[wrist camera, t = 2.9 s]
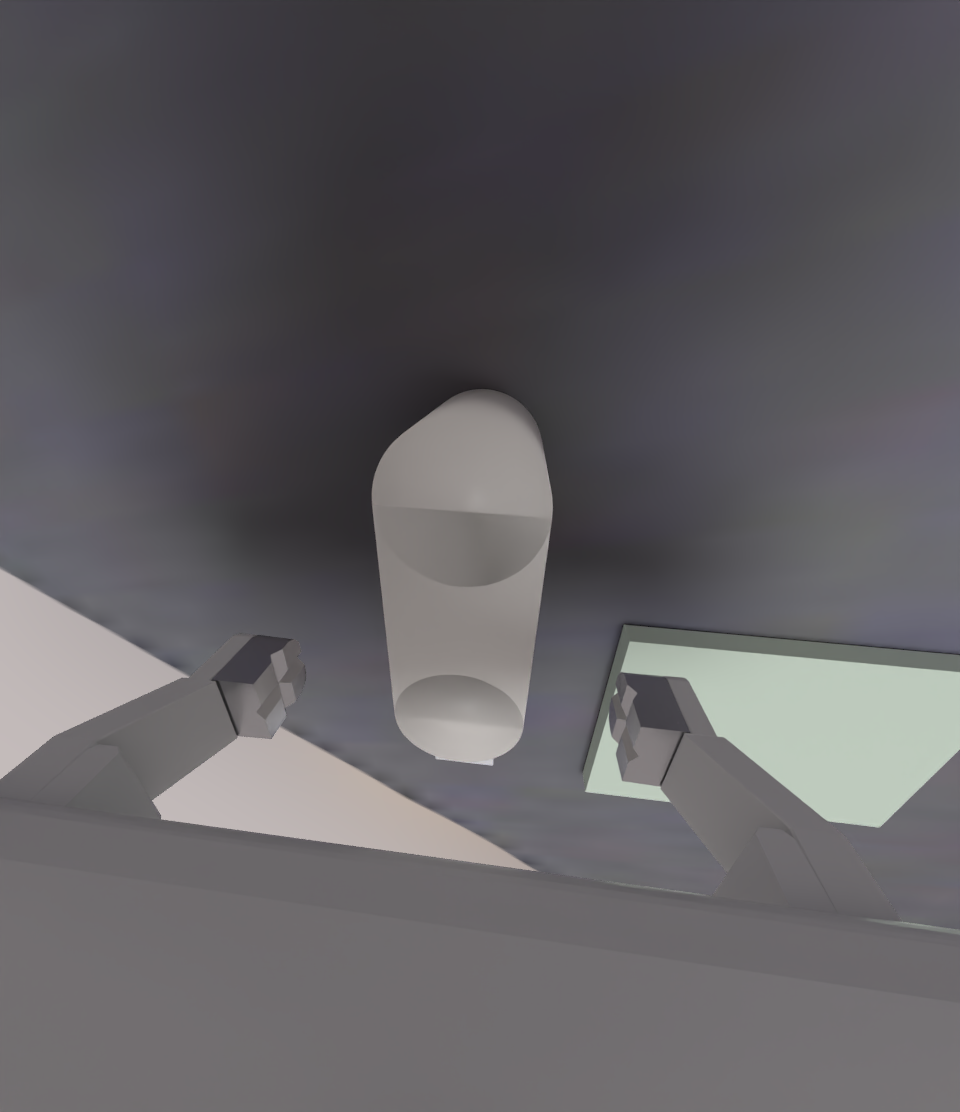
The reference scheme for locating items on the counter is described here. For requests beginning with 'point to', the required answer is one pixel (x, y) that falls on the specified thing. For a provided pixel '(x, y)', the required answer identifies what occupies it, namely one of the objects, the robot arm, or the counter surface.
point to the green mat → (802, 715)
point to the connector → (463, 572)
